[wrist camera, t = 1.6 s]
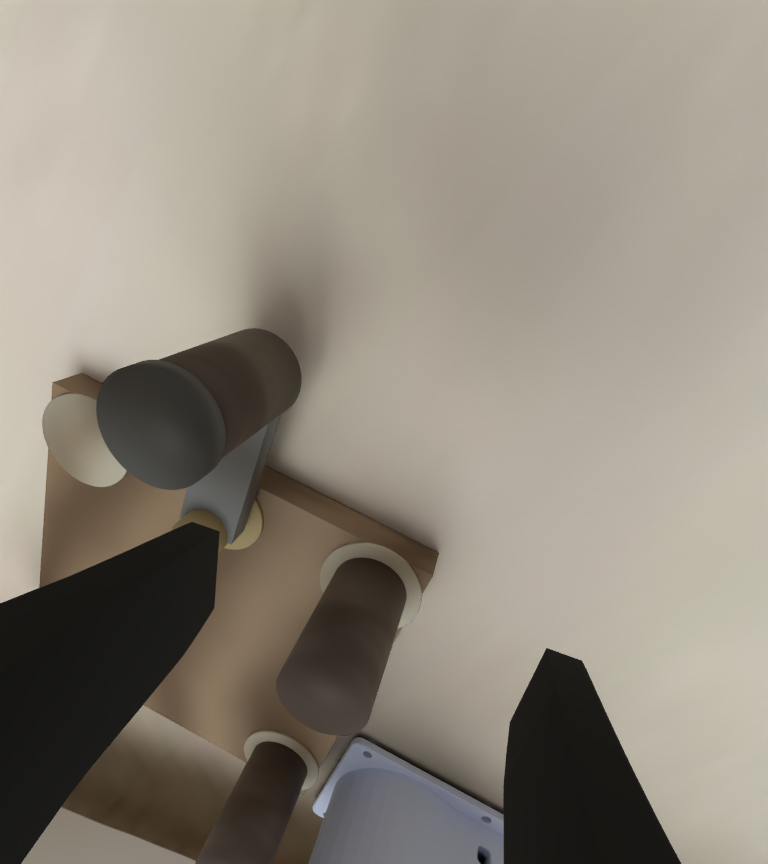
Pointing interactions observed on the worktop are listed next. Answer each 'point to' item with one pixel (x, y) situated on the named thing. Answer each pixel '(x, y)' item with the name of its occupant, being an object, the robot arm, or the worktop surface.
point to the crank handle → (202, 423)
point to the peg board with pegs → (247, 616)
